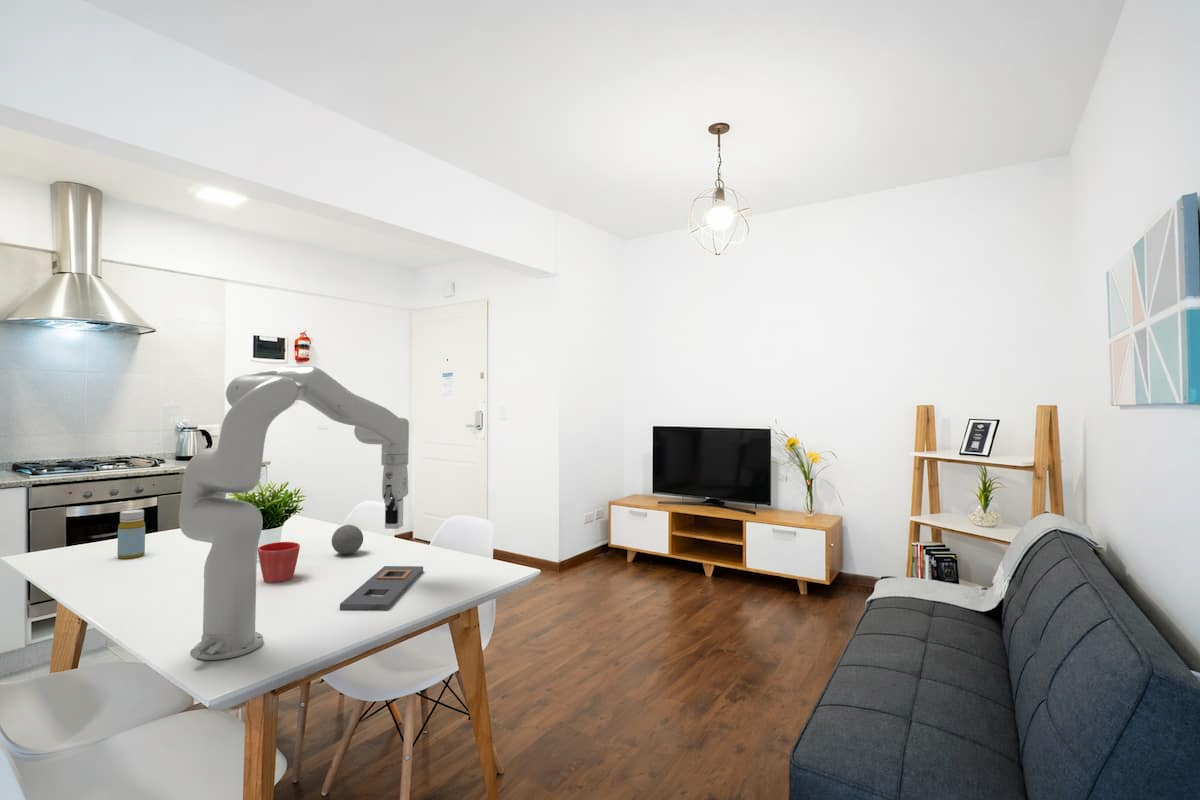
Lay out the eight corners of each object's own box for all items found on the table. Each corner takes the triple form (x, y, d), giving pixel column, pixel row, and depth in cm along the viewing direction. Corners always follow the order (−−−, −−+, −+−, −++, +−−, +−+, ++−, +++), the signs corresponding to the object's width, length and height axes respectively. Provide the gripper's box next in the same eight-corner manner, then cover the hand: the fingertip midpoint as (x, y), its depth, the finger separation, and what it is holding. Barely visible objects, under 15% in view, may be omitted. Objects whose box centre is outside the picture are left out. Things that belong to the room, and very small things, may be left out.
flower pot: (287, 584, 167) (288, 551, 167) (249, 584, 167) (250, 550, 167) (306, 573, 177) (306, 542, 177) (270, 573, 177) (270, 541, 177)
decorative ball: (325, 557, 196) (326, 527, 196) (340, 550, 206) (340, 521, 206) (354, 558, 195) (355, 528, 195) (367, 550, 205) (368, 522, 205)
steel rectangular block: (398, 528, 169) (399, 501, 169) (384, 528, 169) (385, 501, 169) (403, 525, 173) (403, 498, 173) (389, 525, 173) (389, 498, 173)
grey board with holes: (387, 610, 148) (387, 603, 148) (339, 609, 148) (339, 602, 148) (423, 571, 182) (423, 565, 182) (384, 570, 182) (384, 565, 182)
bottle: (123, 554, 194) (124, 509, 194) (148, 553, 196) (149, 508, 196) (113, 560, 188) (114, 513, 188) (138, 558, 190) (139, 512, 190)
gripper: (398, 463, 163) (397, 528, 163) (416, 456, 179) (415, 516, 180) (371, 462, 163) (370, 528, 163) (391, 456, 179) (390, 515, 179)
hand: (394, 521), depth 171 cm, fingers closed on steel rectangular block, 4 cm apart
